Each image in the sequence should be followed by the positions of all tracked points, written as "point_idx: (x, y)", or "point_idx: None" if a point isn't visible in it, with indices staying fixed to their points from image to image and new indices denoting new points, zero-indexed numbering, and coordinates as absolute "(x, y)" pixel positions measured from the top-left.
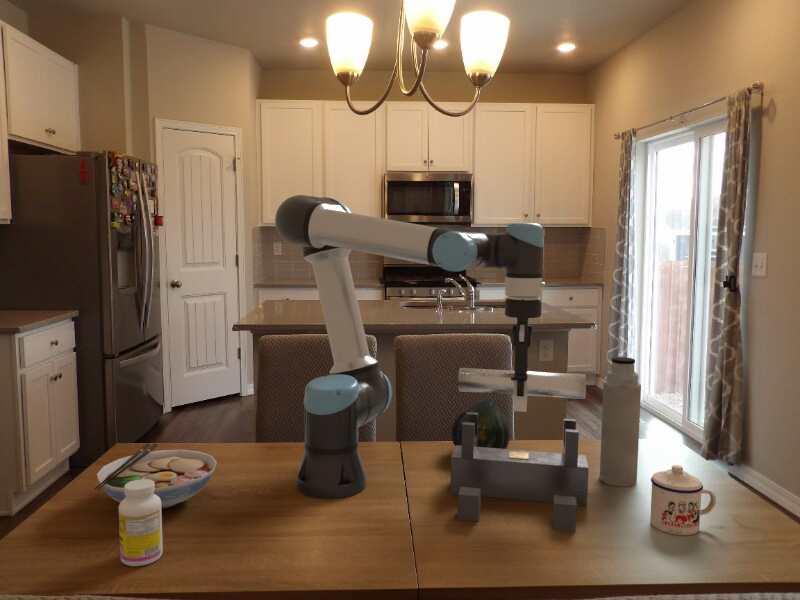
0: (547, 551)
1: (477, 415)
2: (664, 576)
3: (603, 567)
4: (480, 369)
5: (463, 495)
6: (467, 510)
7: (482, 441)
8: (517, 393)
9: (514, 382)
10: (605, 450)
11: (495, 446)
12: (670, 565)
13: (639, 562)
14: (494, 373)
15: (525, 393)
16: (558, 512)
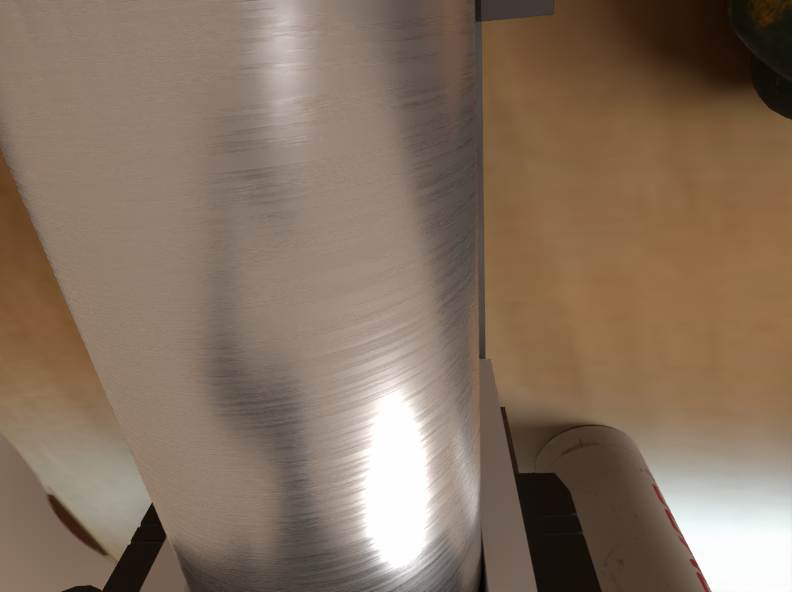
0: (41, 309)
1: (481, 21)
2: (80, 497)
3: (45, 412)
4: (139, 171)
5: None
6: None
7: (749, 4)
8: (153, 511)
9: (152, 577)
10: (586, 516)
11: (763, 77)
12: (130, 509)
13: (110, 468)
14: (138, 443)
15: None
16: None
